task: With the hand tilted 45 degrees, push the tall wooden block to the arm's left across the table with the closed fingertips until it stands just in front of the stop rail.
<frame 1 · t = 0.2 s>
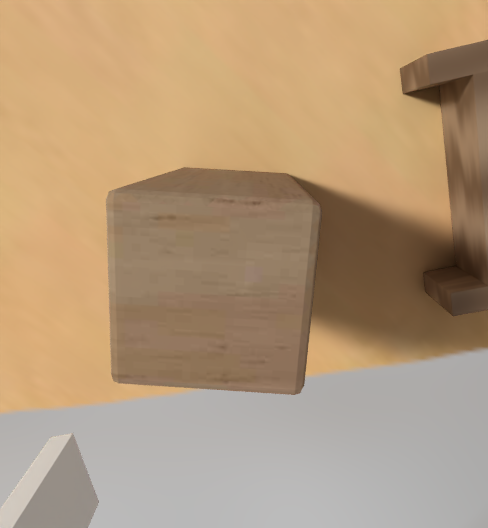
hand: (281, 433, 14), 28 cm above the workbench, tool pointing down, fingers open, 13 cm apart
stop rail: (459, 178, 38), on the workbench
wooden block: (232, 225, 40), on the workbench
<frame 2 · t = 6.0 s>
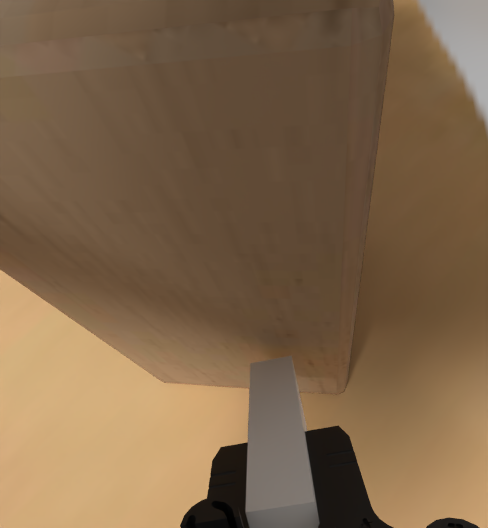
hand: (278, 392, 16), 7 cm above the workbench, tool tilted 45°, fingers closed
wooden block: (257, 303, 25), on the workbench, touching gripper
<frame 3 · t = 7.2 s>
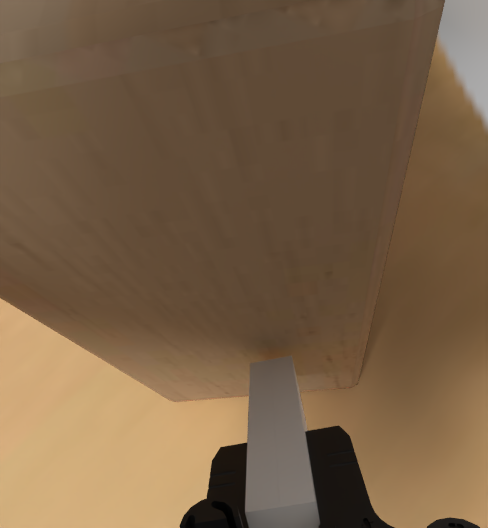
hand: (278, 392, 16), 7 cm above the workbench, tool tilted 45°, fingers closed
wooden block: (257, 308, 25), on the workbench, touching gripper
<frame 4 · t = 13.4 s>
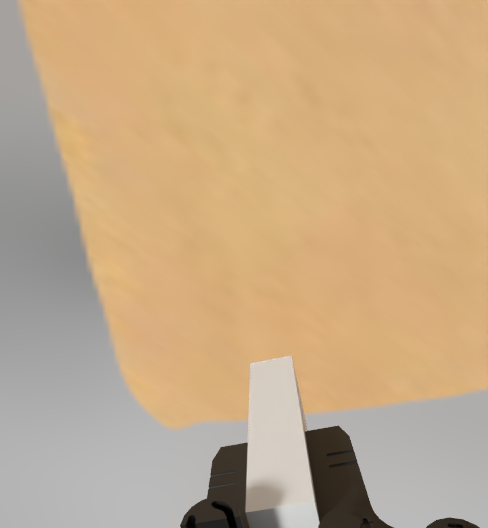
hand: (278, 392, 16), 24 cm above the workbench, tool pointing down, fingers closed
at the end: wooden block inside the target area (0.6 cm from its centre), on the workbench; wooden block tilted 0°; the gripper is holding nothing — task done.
